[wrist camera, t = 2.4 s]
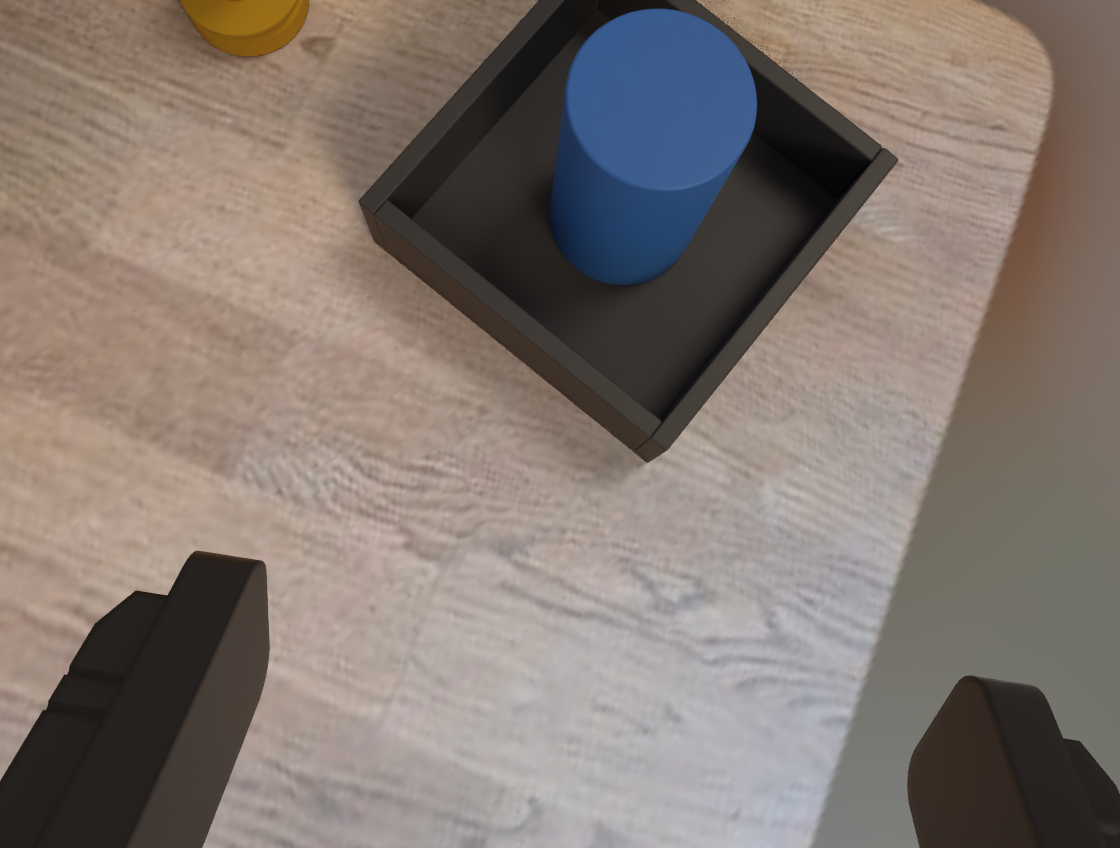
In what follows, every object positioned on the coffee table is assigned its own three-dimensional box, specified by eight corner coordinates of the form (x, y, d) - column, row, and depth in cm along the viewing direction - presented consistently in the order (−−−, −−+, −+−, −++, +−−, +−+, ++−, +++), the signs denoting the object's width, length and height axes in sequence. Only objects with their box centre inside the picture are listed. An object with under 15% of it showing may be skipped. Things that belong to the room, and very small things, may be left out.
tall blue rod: (721, 208, 31) (796, 87, 23) (633, 315, 30) (678, 229, 22) (610, 119, 31) (646, -30, 23) (519, 224, 30) (525, 106, 22)
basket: (856, 202, 32) (900, 158, 28) (647, 463, 30) (666, 451, 27) (593, -5, 32) (603, -73, 29) (373, 241, 31) (357, 201, 27)
